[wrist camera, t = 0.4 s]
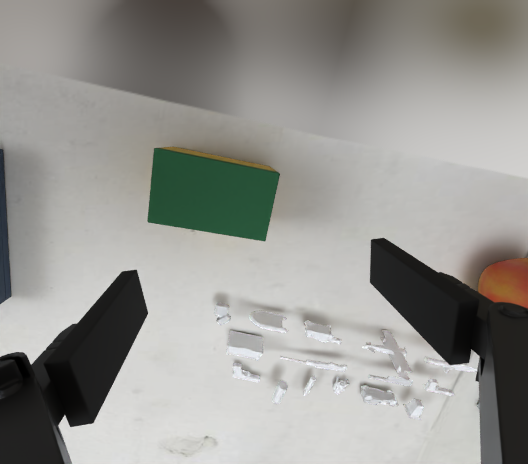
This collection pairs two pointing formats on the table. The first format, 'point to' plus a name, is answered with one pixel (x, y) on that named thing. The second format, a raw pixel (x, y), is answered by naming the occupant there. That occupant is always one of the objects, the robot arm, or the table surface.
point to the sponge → (211, 193)
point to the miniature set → (254, 349)
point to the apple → (506, 282)
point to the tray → (3, 240)
